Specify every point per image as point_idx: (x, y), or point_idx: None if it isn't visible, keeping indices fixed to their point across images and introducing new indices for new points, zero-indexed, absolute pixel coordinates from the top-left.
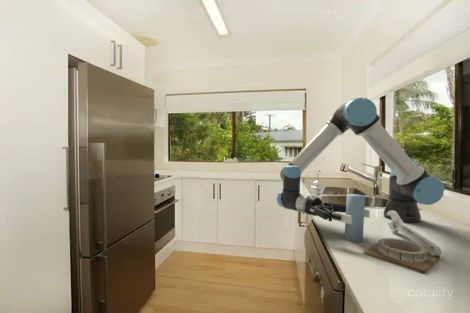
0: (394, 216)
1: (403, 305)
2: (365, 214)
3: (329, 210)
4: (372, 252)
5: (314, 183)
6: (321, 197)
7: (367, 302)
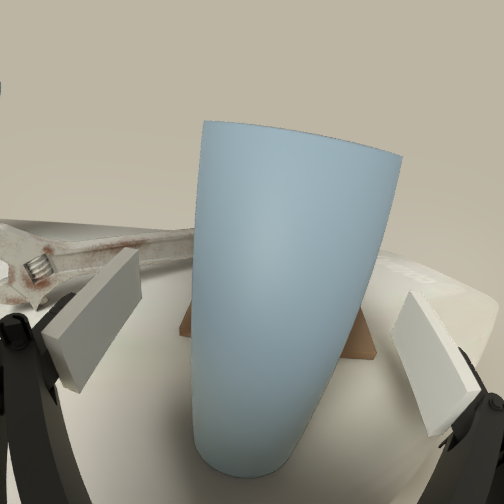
0: (22, 241)
1: (457, 282)
2: (130, 294)
3: (473, 451)
4: (360, 334)
5: None
6: None
7: (493, 302)
